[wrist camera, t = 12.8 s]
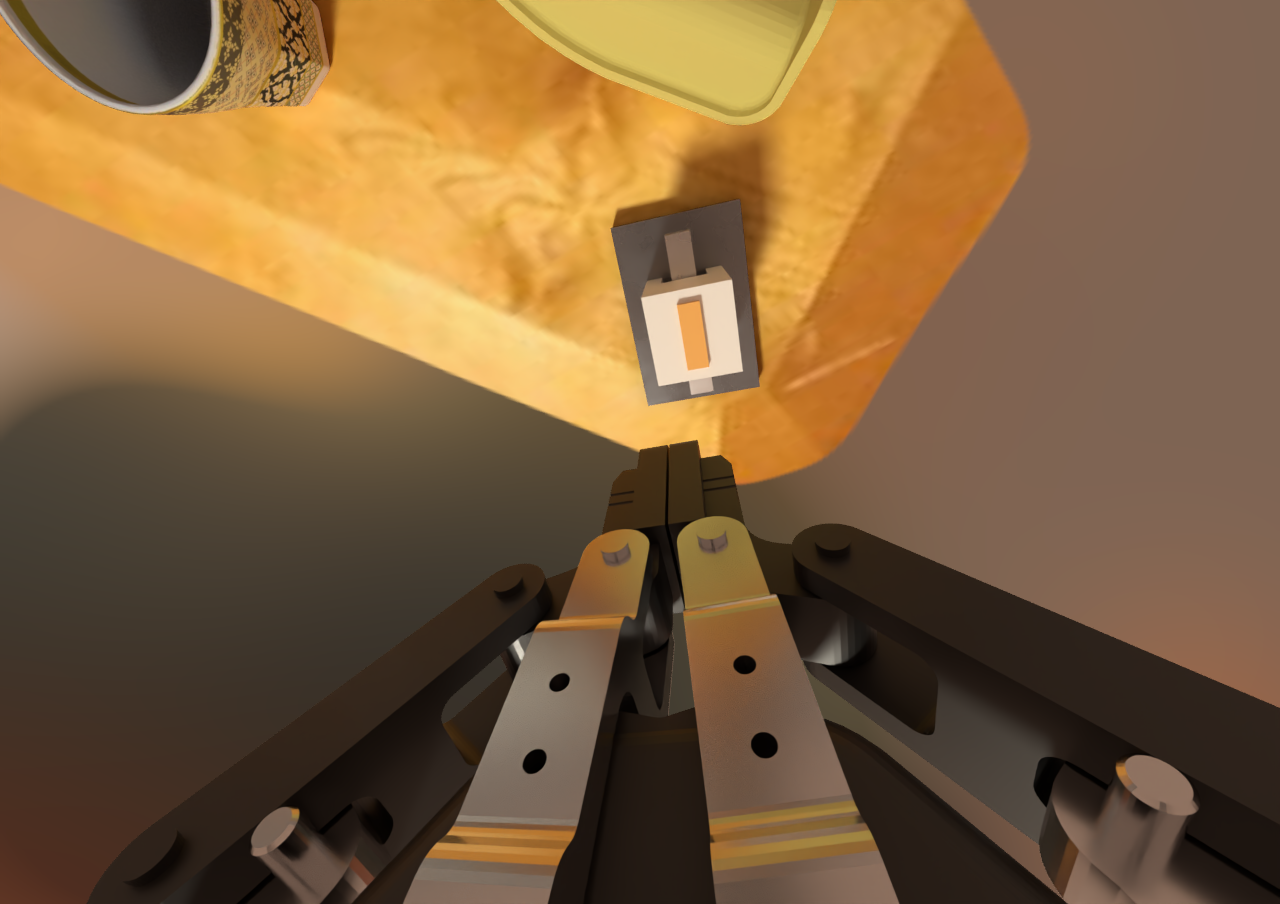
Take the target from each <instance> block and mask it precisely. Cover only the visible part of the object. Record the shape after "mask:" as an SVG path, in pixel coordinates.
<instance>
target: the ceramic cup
mask: <svg viewBox="0 0 1280 904" xmlns="http://www.w3.org/2000/svg"><path fill="white" fill-rule="evenodd" d="M0 14H1V16H2V17H3V18H4V20H5V21H6V23H7V24H8V25H9V27H10V28H11V29H12V30H13V32H14V33H15V34H16V35H17V37H18V38H19V39H20V40H21V42H22V43H23V44H24V45H25V46H26V47H27V48H28V49H29V50H30V51H31V52H32V53H33V55H34V56H35V57H36V58H37V59H38V60H39V61H41V62H42V63H43V64H44V65H45V66H46V67H47V68H48V69H49V70H50V71H51V72H53V73H54V74H55V75H56V76H58V77H59V78H60V79H61V80H63V81H64V82H65V83H67V84H68V85H70V86H71V87H72V88H74V89H75V90H77V91H78V92H80V93H82V94H83V95H85V96H87V97H89V98H90V99H92V100H94V101H97V102H99V103H101V104H103V105H105V106H108V107H111V108H113V109H116V110H120V111H123V112H128V113H132V114H143V115H186V114H203V113H215V112H222V111H228V110H234V109H239V108H244V107H270V106H306V105H308V104H309V102H310V101H311V99H312V98H313V96H314V94H315V93H316V91H317V90H318V88H319V86H320V85H321V83H322V81H323V80H324V78H325V76H326V75H327V73H328V71H329V69H330V64H329V59H328V54H327V48H326V43H325V38H324V32H323V27H322V22H321V17H320V12H319V10H318V7H317V6H316V5H315V3H314V2H313V1H312V0H0Z"/></svg>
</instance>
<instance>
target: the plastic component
mask: <svg viewBox="0 0 1280 904" xmlns="http://www.w3.org/2000/svg"><path fill="white" fill-rule="evenodd" d="M497 1H498V2H499V3H500V4H501V5H502V6H503V7H504V8H505V9H506V10H507V11H508V12H509V13H510V14H511V15H512V16H513V17H514V18H515V19H517V20H518V21H519V22H520V23H521V24H523V25H524V26H525V27H526V28H527V29H529V30H530V31H531V32H532V33H533V34H535V35H536V36H537V37H538V38H539V39H541V40H542V41H544V42H545V43H547V44H548V45H549V46H551V47H552V48H554V49H555V50H557V51H558V52H560V53H561V54H563V55H564V56H566V57H567V58H569V59H571V60H572V61H574V62H576V63H578V64H579V65H581V66H583V67H585V68H587V69H588V70H590V71H592V72H594V73H596V74H598V75H600V76H602V77H604V78H606V79H609V80H612V81H614V82H617V83H620V84H622V85H625V86H628V87H630V88H633V89H635V90H638V91H641V92H643V93H646V94H649V95H651V96H654V97H657V98H659V99H662V100H665V101H667V102H670V103H672V104H675V105H678V106H680V107H683V108H686V109H688V110H691V111H694V112H696V113H699V114H702V115H704V116H707V117H709V118H712V119H715V120H717V121H720V122H723V123H725V124H729V125H748V124H753V123H756V122H759V121H762V120H764V119H765V118H767V117H769V116H770V115H772V114H773V113H774V112H775V111H776V110H777V109H778V108H779V107H780V106H781V104H782V102H783V100H784V99H785V97H786V95H787V94H788V92H789V90H790V88H791V87H792V85H793V83H794V82H795V80H796V78H797V76H798V75H799V73H800V71H801V70H802V68H803V66H804V64H805V63H806V61H807V59H808V57H809V56H810V54H811V52H812V51H813V49H814V47H815V45H816V44H817V42H818V40H819V39H820V37H821V35H822V33H823V31H824V29H825V27H826V25H827V23H828V21H829V18H830V16H831V14H832V11H833V9H834V6H835V3H836V1H837V0H497Z"/></svg>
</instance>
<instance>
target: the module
mask: <svg viewBox="0 0 1280 904" xmlns="http://www.w3.org/2000/svg"><path fill="white" fill-rule="evenodd" d="M641 300H642V305H643V310H644V315H645V320H646V325H647V330H648V335H649V340H650V345H651V351H652V356H653V361H654V366H655V371H656V376H657V381H658V386H663V385H669V384H674V383H680V382H686V381H691V380H697V379H703V378H708V377H714V376H720V375H725V374H731V373H737V372H742V371H743V369H742V360H741V352H740V343H739V335H738V326H737V318H736V309H735V301H734V292H733V284H732V279H731V277H730V276H729V275H728V274H727V272H726V271H725V270H724V268H723V267H722V266H716V267H711V268H706V274H704V275H699V276H694V277H689V278H684V279H679V280H675V281H670V282H665V283H663V279H662V278H658V279H654V280H649V281H647V283H646V285H645V288H644V291H643V294H642V297H641Z"/></svg>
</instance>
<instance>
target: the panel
mask: <svg viewBox="0 0 1280 904" xmlns="http://www.w3.org/2000/svg"><path fill="white" fill-rule="evenodd" d="M611 232H612V237H613V242H614V246H615V251H616V256H617V261H618V265H619V270H620V275H621V279H622V284H623V289H624V294H625V298H626V303H627V308H628V312H629V317H630V322H631V327H632V331H633V336H634V341H635V345H636V350H637V355H638V359H639V364H640V369H641V374H642V378H643V383H644V388H645V392H646V397H647V402H648V406H650V405H655V404H661V403H667V402H673V401H679V400H685V399H690V398H696V397H702V396H708V395H714V394H720V393H726V392H731V391H737V390H743V389H749V388H755V387H760V385H759V376H758V366H757V357H756V347H755V337H754V328H753V318H752V309H751V299H750V290H749V280H748V270H747V261H746V251H745V242H744V232H743V222H742V213H741V203H740V199H736V200H732V201H727V202H723V203H719V204H714V205H710V206H705V207H701V208H697V209H692V210H688V211H683V212H679V213H675V214H670V215H666V216H662V217H657V218H653V219H648V220H644V221H640V222H635V223H631V224H626V225H622V226H618V227H613V228H611ZM716 266H722V267H723V268H724V270H725V271H726V272H727V274H728V275H729V276H730V277H731V279H732V284H733V292H734V301H735V309H736V318H737V326H738V335H739V343H740V352H741V360H742V369H743V371H742V372H737V373H731V374H725V375H720V376H714V377H708V378H703V379H697V380H691V381H686V382H680V383H674V384H669V385H663V386H658V381H657V376H656V371H655V366H654V361H653V356H652V351H651V345H650V340H649V335H648V330H647V325H646V320H645V315H644V310H643V305H642V300H641V297H642V294H643V291H644V288H645V285H646V283H647V281H649V280H654V279H658V278H662V279H663V283H665V282H670V281H675V280H679V279H684V278H689V277H694V276H699V275H704V274H706V268H711V267H716Z"/></svg>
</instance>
